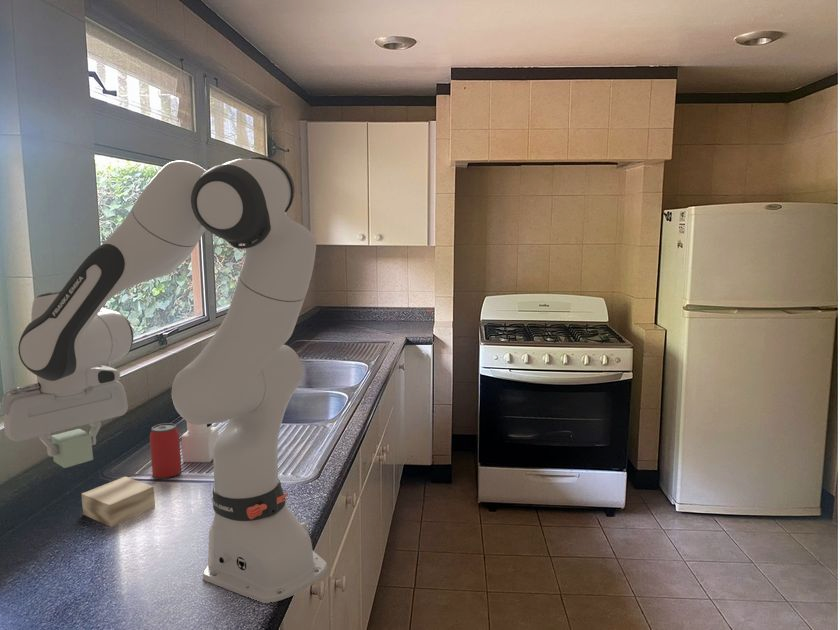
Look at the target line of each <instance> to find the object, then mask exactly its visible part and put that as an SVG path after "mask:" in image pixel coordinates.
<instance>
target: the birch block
mask: <svg viewBox="0 0 840 630" xmlns="http://www.w3.org/2000/svg"><path fill="white" fill-rule="evenodd" d="M80 494H81V504H82V506H81V507H82V514H83V516H85V517H88V518H91V519H92V520H94V521H97V522H100V523H102V524H104V525H106V526H108V527H110V528H112V527H115V526H117V525H119V524H121V523H124V522H126V521H128V520H130V519H132V518H135V517H136V516H137V517H138V516H139V515H141V514H143V513H146V512H148V511H150V510H152V509H155V508H156V499H155V488H154V485H150V484H148V483H145V482H142V481H139V480H136V479H134V478H131V477H128V476H122V477H120V478H118V479H116V480H115V479H114V480H113V481H110V482H107V483H105V484H103V485H100V486H97V487H94V488H92V489H90V490H88V491H85V492H81V493H80ZM147 510H148V511H147Z"/></svg>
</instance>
